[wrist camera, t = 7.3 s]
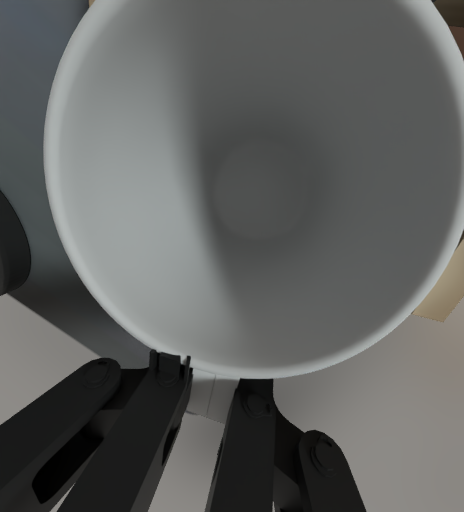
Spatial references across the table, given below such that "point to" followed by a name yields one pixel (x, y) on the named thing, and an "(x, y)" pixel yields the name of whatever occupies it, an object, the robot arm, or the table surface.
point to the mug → (258, 173)
